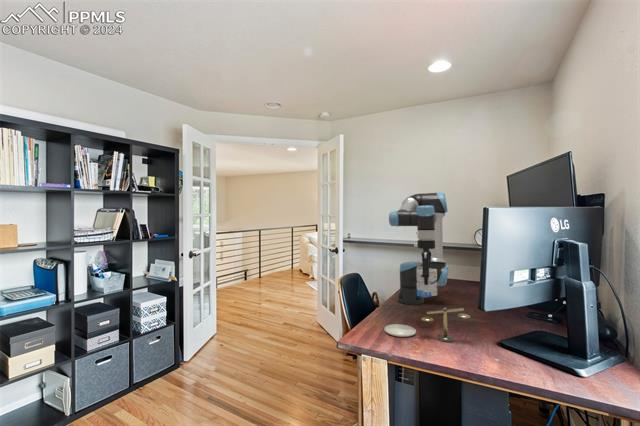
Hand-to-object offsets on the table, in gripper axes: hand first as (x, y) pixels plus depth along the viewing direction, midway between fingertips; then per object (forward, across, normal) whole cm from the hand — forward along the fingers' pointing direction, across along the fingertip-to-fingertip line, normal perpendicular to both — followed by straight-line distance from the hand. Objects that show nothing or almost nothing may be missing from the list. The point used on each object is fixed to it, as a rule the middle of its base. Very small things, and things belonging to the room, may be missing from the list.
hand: (427, 289), depth 135 cm
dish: (+17, +11, -10) cm, 23 cm away
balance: (+17, +12, +8) cm, 22 cm away
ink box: (+3, 0, 0) cm, 3 cm away
